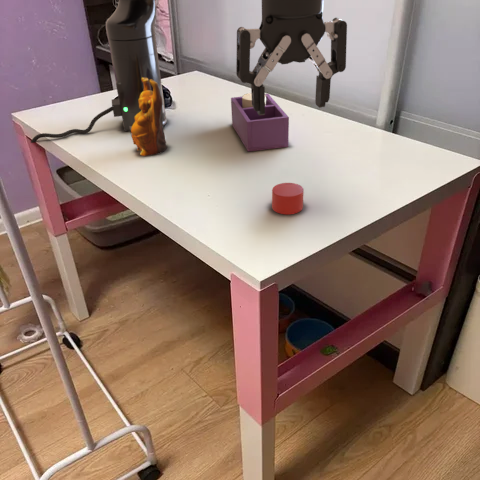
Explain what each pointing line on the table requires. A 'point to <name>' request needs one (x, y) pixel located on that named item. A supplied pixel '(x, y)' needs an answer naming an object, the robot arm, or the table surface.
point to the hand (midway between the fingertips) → (290, 109)
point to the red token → (287, 198)
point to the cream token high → (248, 100)
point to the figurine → (149, 121)
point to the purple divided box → (260, 125)
